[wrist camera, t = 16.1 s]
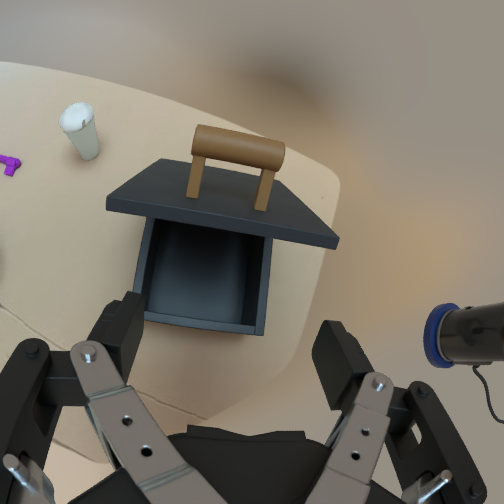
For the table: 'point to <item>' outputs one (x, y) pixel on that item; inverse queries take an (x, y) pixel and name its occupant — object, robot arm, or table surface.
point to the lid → (224, 191)
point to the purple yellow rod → (10, 164)
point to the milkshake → (81, 129)
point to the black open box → (203, 277)
